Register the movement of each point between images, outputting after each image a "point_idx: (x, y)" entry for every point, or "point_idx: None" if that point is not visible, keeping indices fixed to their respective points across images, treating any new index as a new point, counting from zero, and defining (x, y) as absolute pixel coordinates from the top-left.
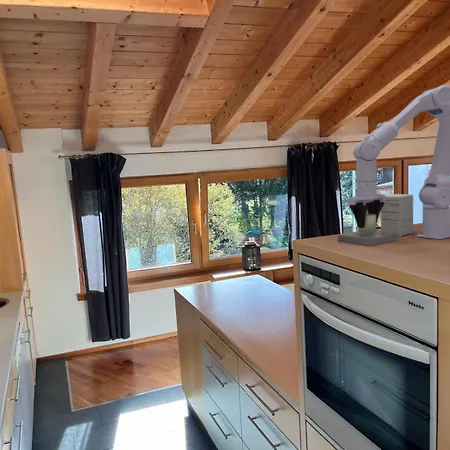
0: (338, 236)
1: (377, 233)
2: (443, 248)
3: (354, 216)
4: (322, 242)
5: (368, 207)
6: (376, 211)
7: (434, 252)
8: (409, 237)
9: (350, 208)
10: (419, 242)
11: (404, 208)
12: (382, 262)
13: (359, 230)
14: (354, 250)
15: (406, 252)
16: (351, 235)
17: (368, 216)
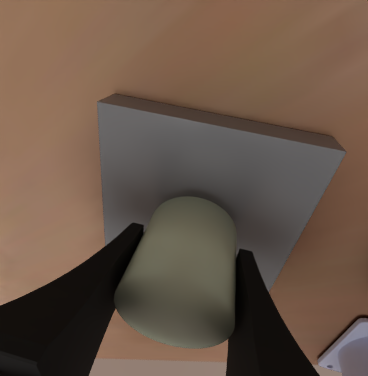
0: (101, 101)
1: (239, 248)
2: (198, 359)
3: (83, 263)
4: (37, 28)
5: (249, 371)
6: (227, 371)
7: (149, 349)
8: (345, 299)
9: (5, 306)
10: None
11: None
12: (10, 298)
13: (153, 214)
14: (38, 225)
15: (113, 316)
16: (128, 173)
17: (132, 323)
